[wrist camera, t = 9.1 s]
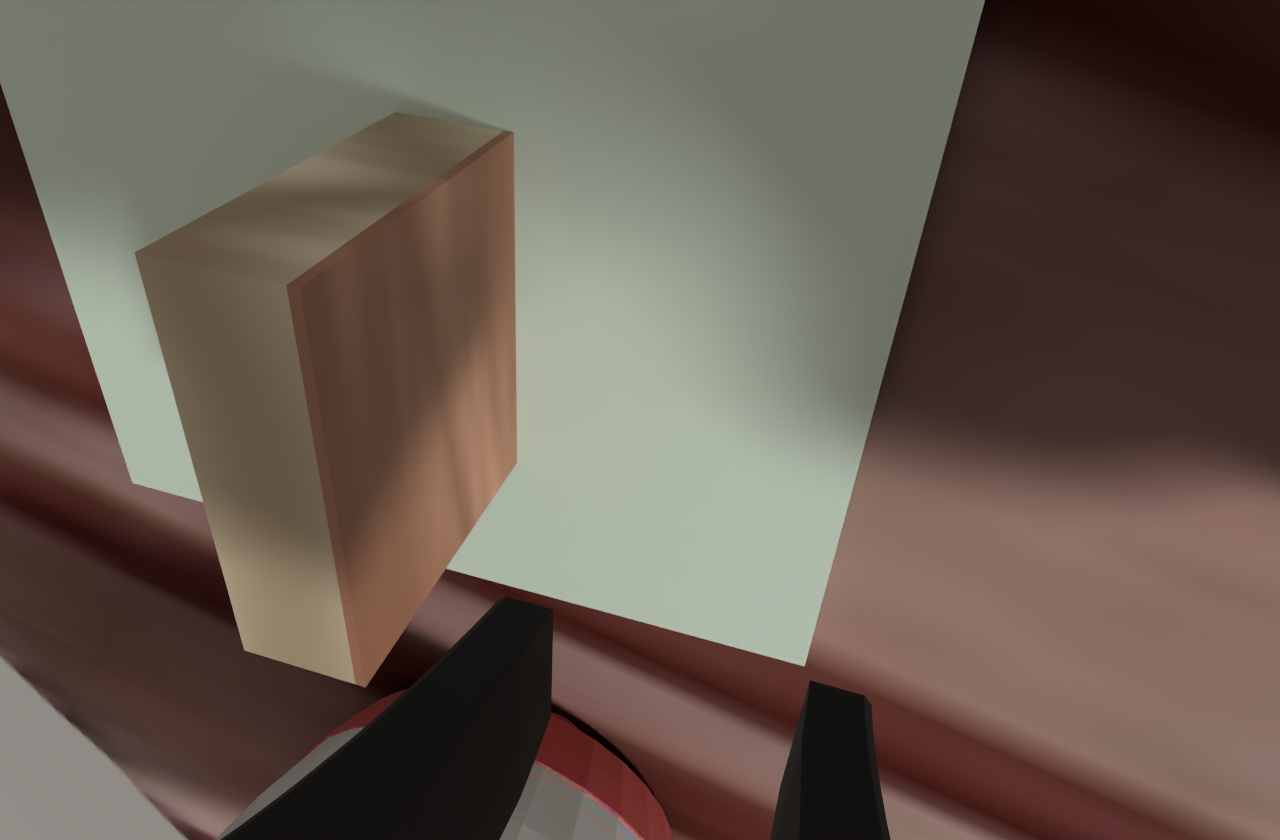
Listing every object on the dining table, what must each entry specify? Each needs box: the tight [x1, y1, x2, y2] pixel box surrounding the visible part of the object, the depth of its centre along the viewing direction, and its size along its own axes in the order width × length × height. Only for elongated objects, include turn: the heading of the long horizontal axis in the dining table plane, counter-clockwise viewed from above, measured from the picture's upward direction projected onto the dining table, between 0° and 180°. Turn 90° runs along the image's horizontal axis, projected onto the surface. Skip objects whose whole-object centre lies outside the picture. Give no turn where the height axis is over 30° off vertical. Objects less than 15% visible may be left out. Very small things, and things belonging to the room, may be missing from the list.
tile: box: [134, 112, 517, 687], centre depth 17 cm, size 2×8×7 cm, turn 176°
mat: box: [0, 0, 985, 666], centre depth 20 cm, size 20×18×1 cm
